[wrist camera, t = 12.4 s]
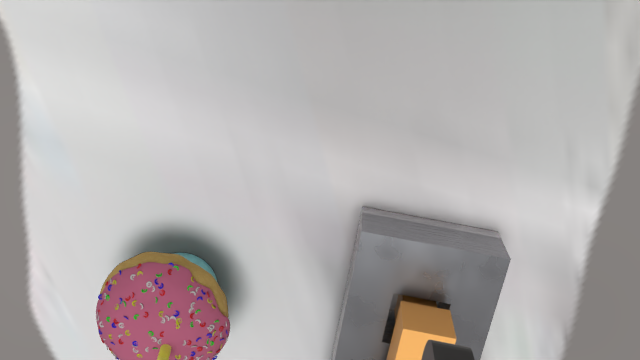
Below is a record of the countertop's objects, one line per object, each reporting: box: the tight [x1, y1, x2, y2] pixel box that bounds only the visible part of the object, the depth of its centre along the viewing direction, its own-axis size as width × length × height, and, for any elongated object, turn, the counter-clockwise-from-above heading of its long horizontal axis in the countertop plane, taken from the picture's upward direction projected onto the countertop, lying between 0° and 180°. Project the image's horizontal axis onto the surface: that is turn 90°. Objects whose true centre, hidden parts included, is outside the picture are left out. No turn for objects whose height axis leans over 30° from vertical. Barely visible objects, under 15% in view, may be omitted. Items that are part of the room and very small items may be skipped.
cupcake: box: [96, 252, 230, 360], centre depth 38 cm, size 9×8×12 cm
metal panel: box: [331, 207, 511, 360], centre depth 41 cm, size 18×9×4 cm, turn 170°
